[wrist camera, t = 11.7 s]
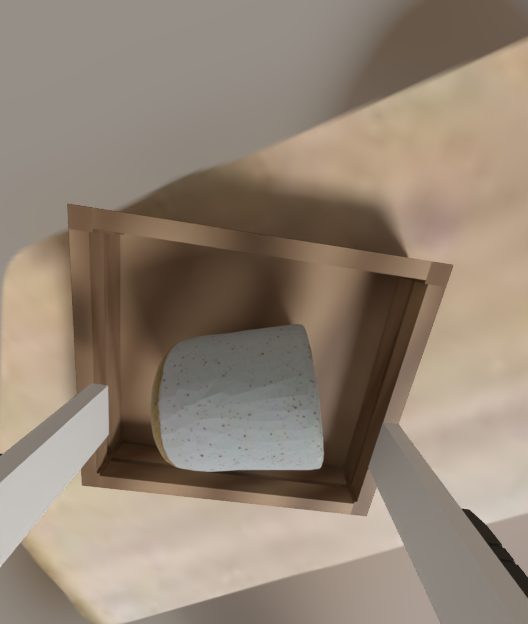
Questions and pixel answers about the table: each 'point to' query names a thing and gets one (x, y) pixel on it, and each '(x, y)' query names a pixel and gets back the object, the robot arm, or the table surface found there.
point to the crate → (239, 317)
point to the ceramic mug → (239, 402)
